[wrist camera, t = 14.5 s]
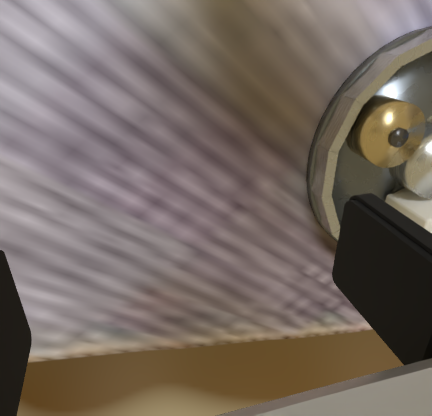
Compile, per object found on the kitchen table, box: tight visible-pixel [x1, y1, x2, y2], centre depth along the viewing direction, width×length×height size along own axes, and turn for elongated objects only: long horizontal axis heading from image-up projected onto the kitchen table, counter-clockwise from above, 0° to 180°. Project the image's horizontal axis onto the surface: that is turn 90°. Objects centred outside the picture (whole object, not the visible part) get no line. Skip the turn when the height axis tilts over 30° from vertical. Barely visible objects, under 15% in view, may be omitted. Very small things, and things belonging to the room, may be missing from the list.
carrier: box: [307, 26, 432, 242], centre depth 45 cm, size 29×29×6 cm
